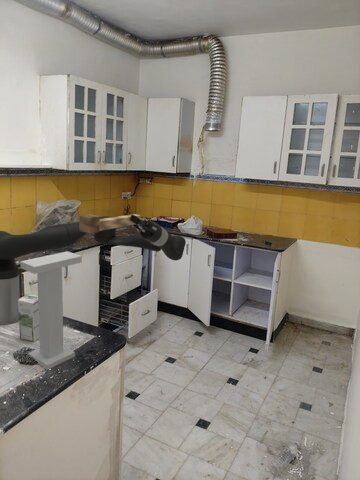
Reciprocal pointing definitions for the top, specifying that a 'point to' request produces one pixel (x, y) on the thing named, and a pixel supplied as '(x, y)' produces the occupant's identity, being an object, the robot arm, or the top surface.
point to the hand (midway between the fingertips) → (127, 216)
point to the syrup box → (28, 317)
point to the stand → (50, 307)
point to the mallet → (103, 222)
